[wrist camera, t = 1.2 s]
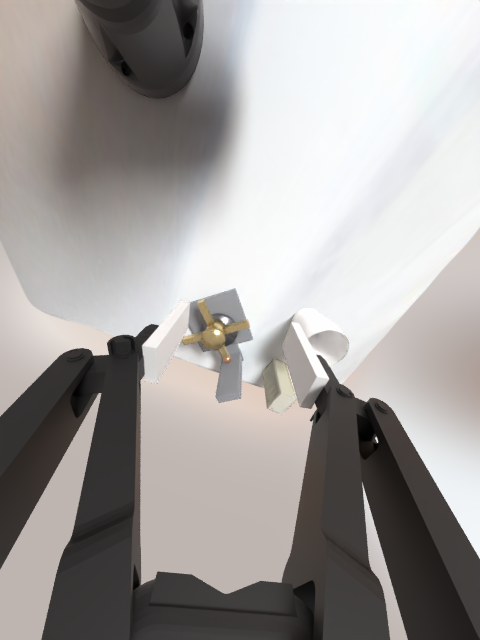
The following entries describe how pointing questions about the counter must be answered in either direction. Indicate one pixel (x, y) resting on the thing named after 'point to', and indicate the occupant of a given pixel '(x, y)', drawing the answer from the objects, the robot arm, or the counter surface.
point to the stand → (229, 371)
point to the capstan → (216, 331)
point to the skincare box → (278, 387)
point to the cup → (322, 335)
